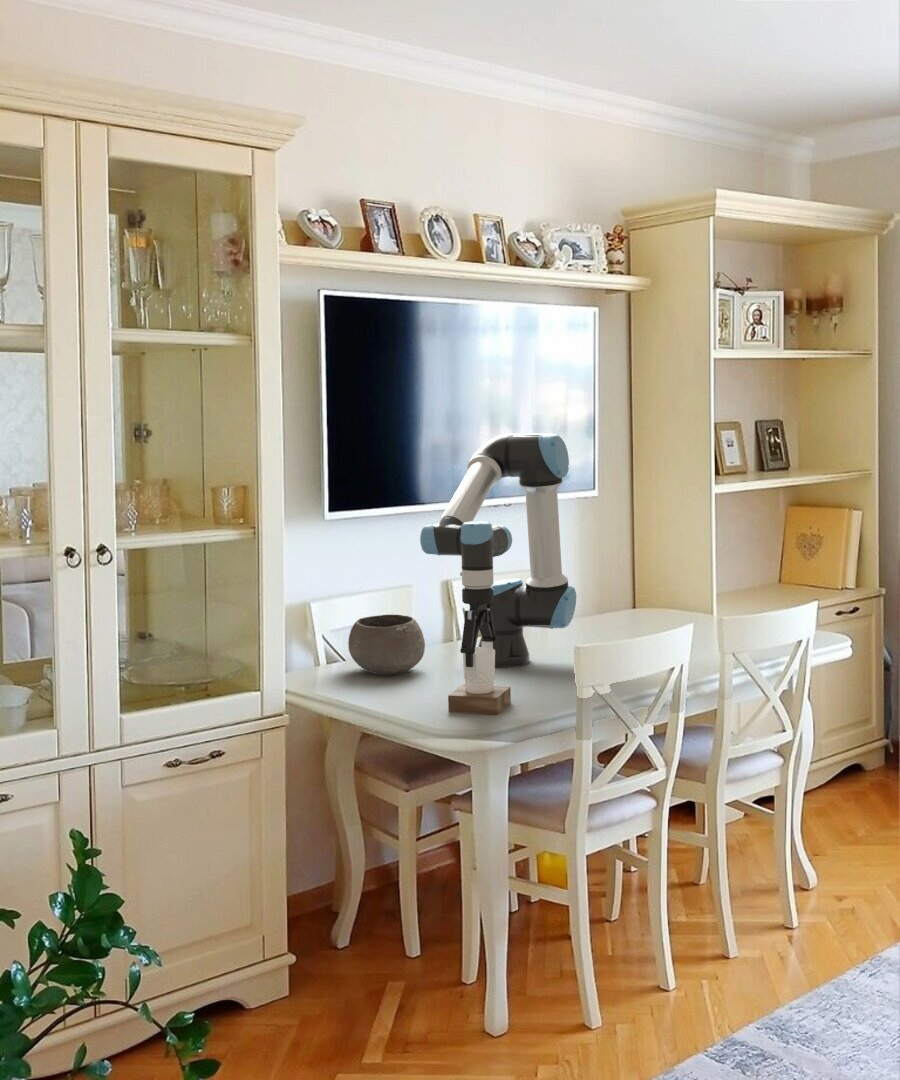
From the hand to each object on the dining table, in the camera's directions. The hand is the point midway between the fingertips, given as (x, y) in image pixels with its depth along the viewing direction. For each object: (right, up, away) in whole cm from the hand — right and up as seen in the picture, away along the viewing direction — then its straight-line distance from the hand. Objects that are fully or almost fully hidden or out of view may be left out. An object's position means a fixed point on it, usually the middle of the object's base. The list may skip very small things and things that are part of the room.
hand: (479, 673), depth 302 cm
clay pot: (-24, -4, +42) cm, 48 cm away
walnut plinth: (0, -8, +1) cm, 8 cm away
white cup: (0, -4, 0) cm, 4 cm away
